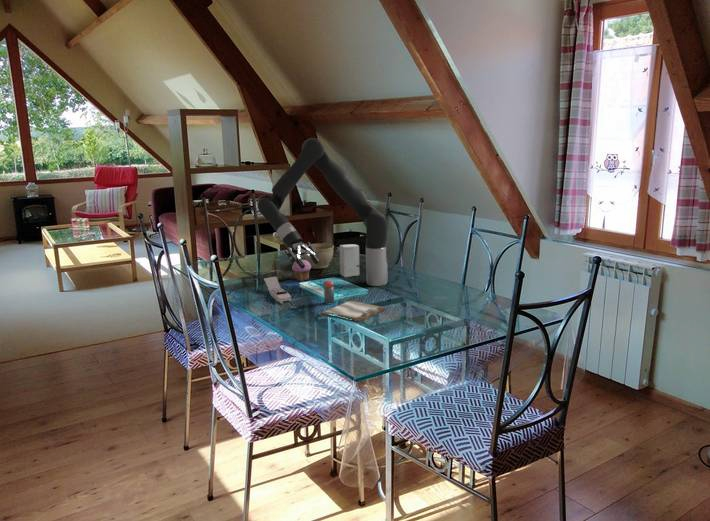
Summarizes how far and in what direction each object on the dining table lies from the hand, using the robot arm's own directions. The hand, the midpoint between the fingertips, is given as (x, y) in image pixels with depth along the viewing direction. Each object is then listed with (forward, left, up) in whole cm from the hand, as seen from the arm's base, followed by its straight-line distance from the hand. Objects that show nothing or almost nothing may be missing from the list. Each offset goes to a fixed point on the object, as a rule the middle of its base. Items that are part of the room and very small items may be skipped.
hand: (310, 265), depth 246 cm
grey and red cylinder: (0, +9, -15) cm, 17 cm away
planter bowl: (-45, -35, -15) cm, 59 cm away
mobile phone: (+4, -16, -15) cm, 23 cm away
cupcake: (-21, -25, -15) cm, 36 cm away
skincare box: (-40, -11, -15) cm, 44 cm away
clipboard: (+4, +25, -15) cm, 30 cm away
